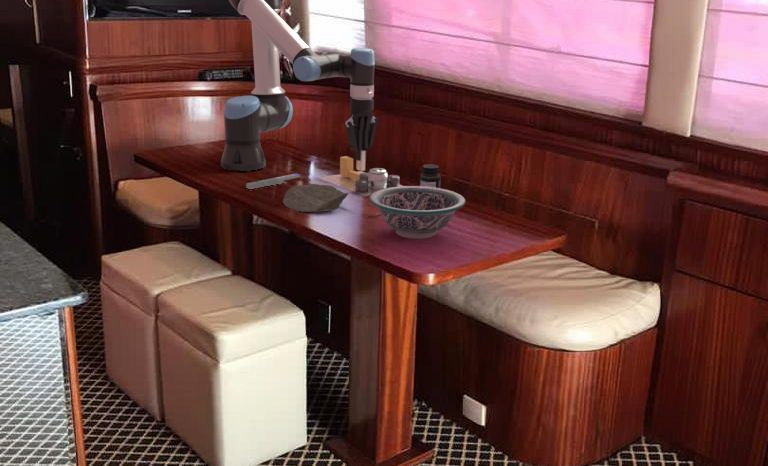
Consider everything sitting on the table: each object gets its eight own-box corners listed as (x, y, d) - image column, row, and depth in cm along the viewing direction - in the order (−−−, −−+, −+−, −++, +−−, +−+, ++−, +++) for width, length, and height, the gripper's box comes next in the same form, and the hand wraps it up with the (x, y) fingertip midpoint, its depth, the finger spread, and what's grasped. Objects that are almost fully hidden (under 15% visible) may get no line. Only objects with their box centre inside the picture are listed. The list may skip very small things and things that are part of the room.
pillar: (246, 183, 261) (296, 173, 275) (246, 190, 262) (296, 179, 276) (250, 184, 260) (300, 174, 273) (250, 191, 260) (300, 181, 274)
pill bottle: (428, 198, 256) (430, 162, 253) (444, 202, 252) (445, 166, 249) (414, 201, 252) (416, 165, 249) (430, 206, 248) (431, 169, 245)
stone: (269, 198, 246) (306, 175, 255) (273, 211, 248) (309, 187, 257) (315, 213, 234) (352, 188, 242) (318, 226, 236) (355, 201, 244)
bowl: (424, 255, 207) (425, 217, 204) (349, 232, 222) (349, 197, 219) (482, 232, 225) (484, 198, 222) (409, 213, 241) (410, 181, 238)
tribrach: (317, 180, 274) (317, 158, 271) (360, 173, 283) (361, 152, 281) (364, 199, 254) (364, 175, 252) (408, 191, 264) (409, 168, 261)
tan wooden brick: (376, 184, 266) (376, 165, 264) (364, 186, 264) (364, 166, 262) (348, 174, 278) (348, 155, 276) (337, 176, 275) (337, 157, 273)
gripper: (353, 101, 264) (352, 174, 271) (385, 97, 272) (383, 169, 279) (338, 98, 269) (338, 170, 277) (370, 94, 277) (368, 164, 285)
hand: (360, 169), depth 278 cm, fingers closed
